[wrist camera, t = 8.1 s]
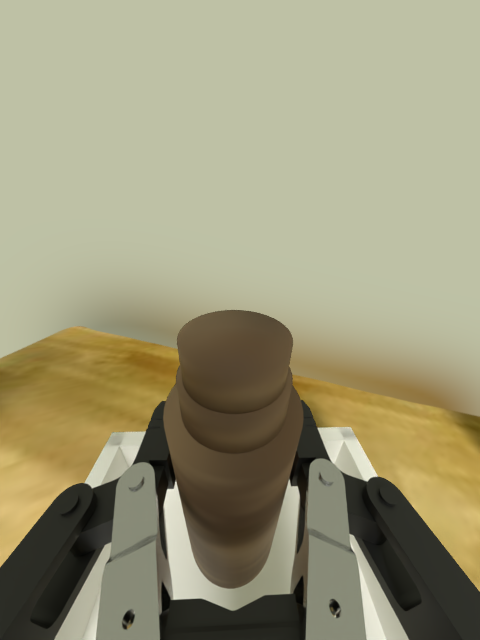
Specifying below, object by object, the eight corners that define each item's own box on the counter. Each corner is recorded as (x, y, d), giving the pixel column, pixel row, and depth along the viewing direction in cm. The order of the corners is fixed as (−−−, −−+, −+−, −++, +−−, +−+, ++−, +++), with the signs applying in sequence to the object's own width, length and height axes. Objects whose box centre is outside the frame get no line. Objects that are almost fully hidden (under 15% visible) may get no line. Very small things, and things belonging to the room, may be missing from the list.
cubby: (4, 800, 9) (-117, 847, 6) (130, 475, 21) (112, 432, 18) (449, 761, 10) (549, 784, 7) (333, 468, 22) (350, 427, 19)
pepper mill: (172, 561, 11) (100, 366, 5) (211, 465, 16) (200, 295, 9) (263, 611, 10) (326, 431, 4) (278, 490, 14) (318, 313, 8)
